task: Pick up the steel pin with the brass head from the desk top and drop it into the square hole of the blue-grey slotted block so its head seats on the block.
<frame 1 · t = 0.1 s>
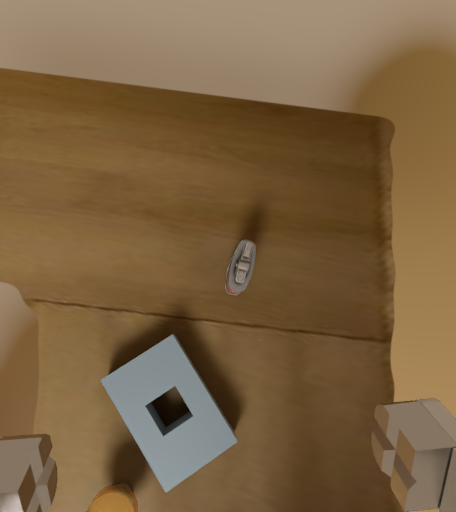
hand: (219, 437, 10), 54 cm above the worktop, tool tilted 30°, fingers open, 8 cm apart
lighter: (237, 271, 66), on the worktop
hitch pin: (120, 495, 58), on the worktop
blue-grey slotted block: (171, 403, 61), on the worktop
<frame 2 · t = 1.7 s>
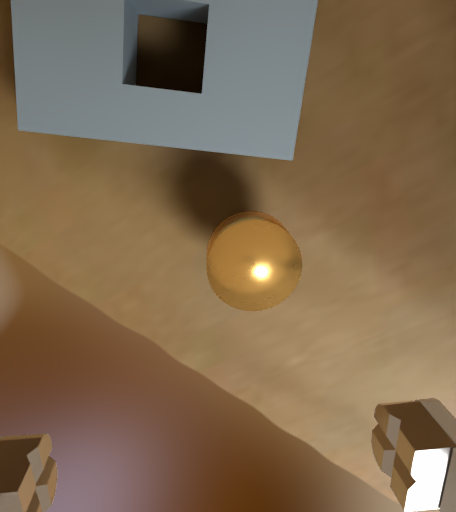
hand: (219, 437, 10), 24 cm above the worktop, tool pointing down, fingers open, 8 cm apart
hitch pin: (244, 236, 33), on the worktop
blue-grey slotted block: (171, 57, 29), on the worktop
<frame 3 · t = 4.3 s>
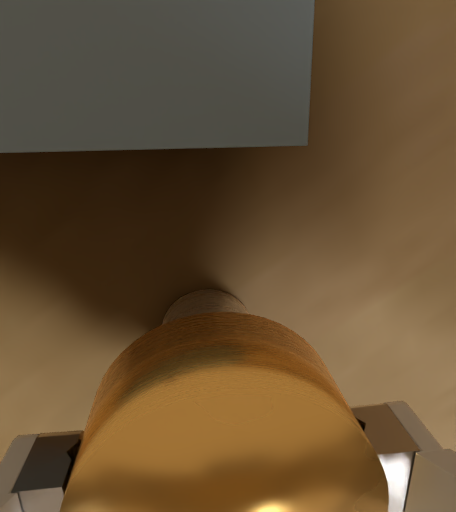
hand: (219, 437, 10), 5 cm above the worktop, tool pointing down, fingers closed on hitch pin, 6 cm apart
hitch pin: (207, 330, 15), on the worktop, touching gripper
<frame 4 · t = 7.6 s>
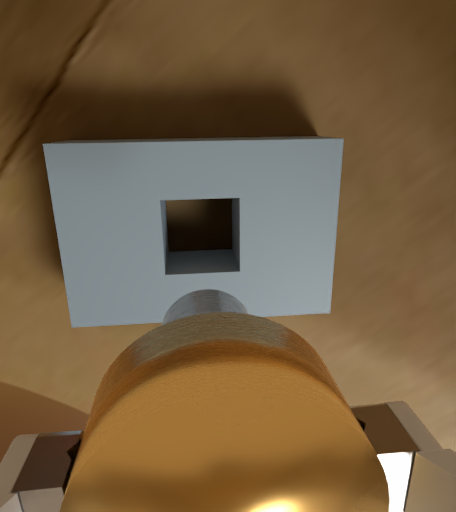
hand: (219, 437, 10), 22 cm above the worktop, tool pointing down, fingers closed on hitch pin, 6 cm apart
hitch pin: (207, 330, 15), point 16 cm above the worktop, touching gripper
blue-grey slotted block: (199, 219, 30), on the worktop
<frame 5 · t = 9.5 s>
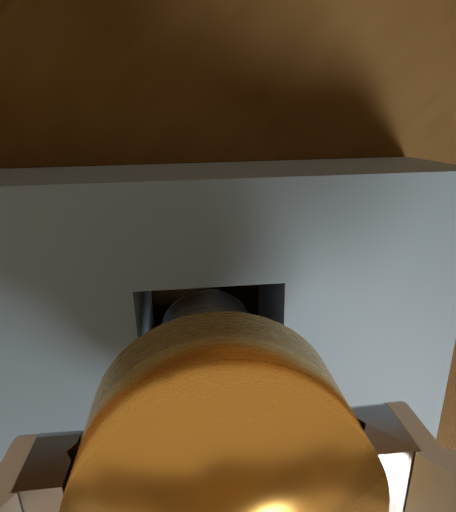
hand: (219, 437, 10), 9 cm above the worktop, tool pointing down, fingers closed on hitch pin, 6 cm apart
hitch pin: (206, 329, 15), point 4 cm above the worktop, touching gripper
blue-grey slotted block: (205, 293, 18), on the worktop
when the fingers open (7 cm above the worktop, at t = 10.9 s): hitch pin stays where it is, resting on blue-grey slotted block.
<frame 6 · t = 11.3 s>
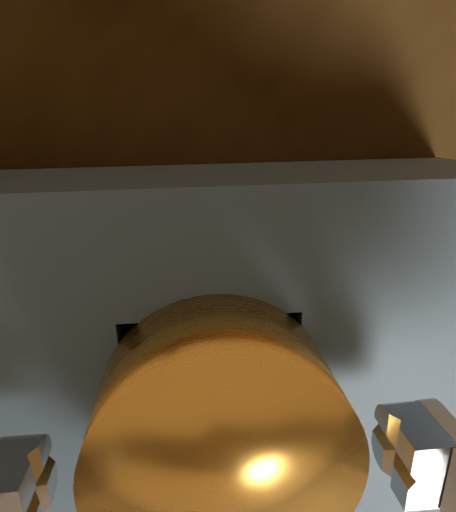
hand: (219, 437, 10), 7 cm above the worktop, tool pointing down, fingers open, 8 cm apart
hitch pin: (207, 317, 16), resting on blue-grey slotted block
blue-grey slotted block: (204, 314, 16), on the worktop
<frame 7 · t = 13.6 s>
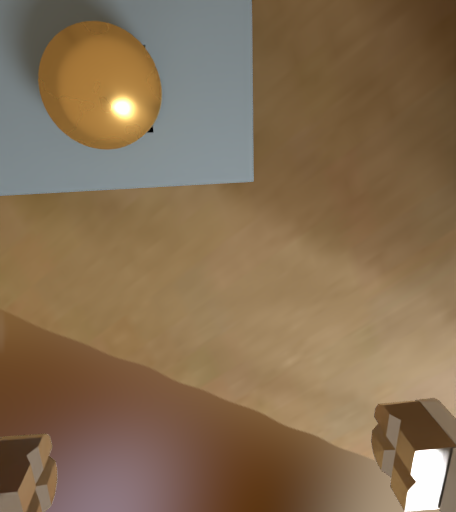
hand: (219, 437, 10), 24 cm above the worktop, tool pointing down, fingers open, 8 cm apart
hitch pin: (119, 94, 28), resting on blue-grey slotted block
blue-grey slotted block: (118, 94, 29), on the worktop
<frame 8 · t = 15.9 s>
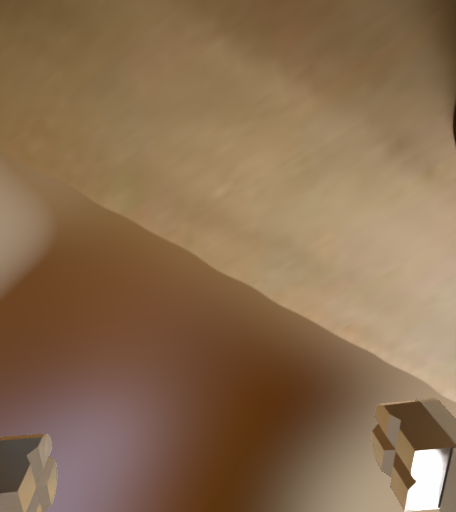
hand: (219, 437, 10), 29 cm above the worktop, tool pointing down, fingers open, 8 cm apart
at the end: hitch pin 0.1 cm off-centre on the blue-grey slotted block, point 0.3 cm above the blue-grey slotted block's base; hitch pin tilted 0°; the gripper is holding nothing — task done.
